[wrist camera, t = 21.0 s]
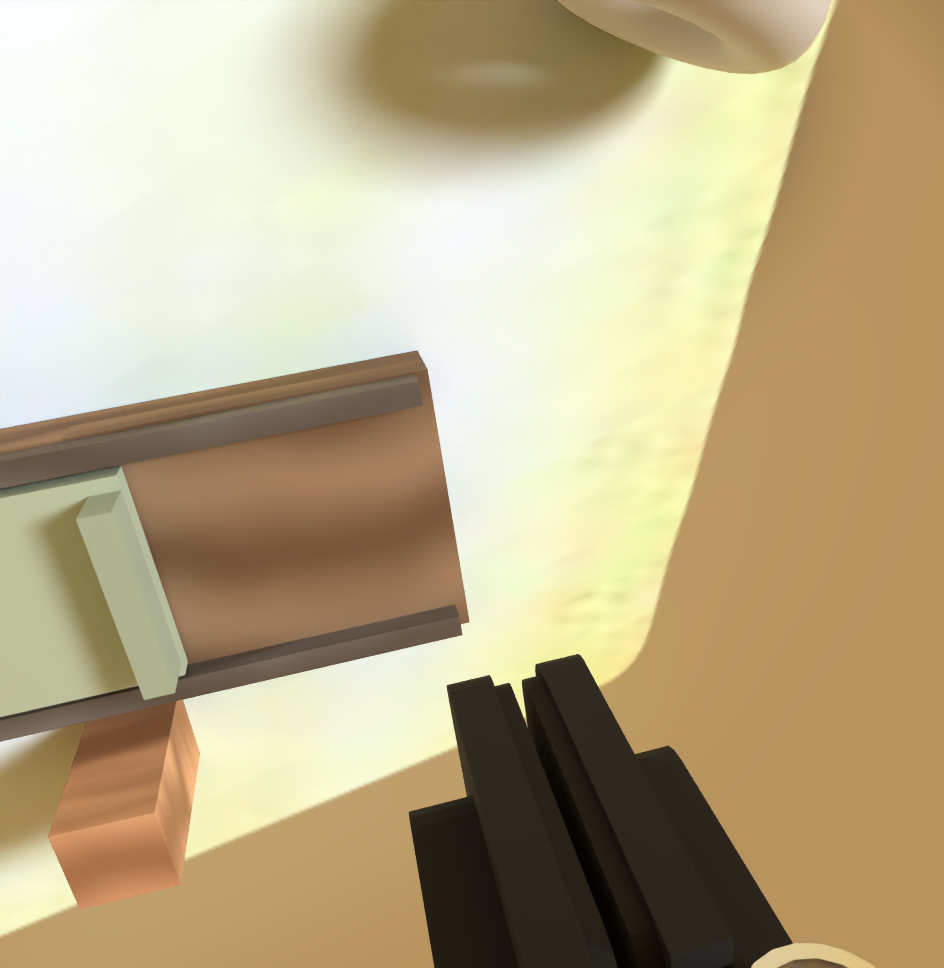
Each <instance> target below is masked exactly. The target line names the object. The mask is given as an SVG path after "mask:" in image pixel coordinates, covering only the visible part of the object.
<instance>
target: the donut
mask: <svg viewBox="0 0 944 968" xmlns="http://www.w3.org/2000/svg"><path fill="white" fill-rule="evenodd" d="M557 1H558V2H559V3H561V4H562V5H563V6H564V7H565V8H567V9H568V10H569V11H570V12H572V13H573V14H575V15H577V16H578V17H580V18H582V19H583V20H585V21H586V22H588V23H590V24H591V25H593V26H595V27H597V28H599V29H601V30H603V31H605V32H607V33H609V34H611V35H613V36H615V37H617V38H620V39H622V40H625V41H627V42H629V43H632V44H634V45H636V46H639V47H641V48H644V49H646V50H649V51H652V52H655V53H657V54H660V55H663V56H666V57H669V58H672V59H675V60H678V61H681V62H685V63H689V64H692V65H696V66H700V67H703V68H707V69H713V70H718V71H723V72H729V73H741V74H756V73H763V72H768V71H772V70H776V69H780V68H782V67H784V66H786V65H788V64H790V63H792V62H794V61H796V60H797V59H798V58H799V57H801V56H802V55H803V54H804V53H805V52H806V51H807V50H808V49H809V48H810V46H811V45H812V43H813V41H814V40H815V38H816V37H817V35H818V33H819V32H820V30H821V28H822V26H823V24H824V22H825V20H826V16H827V13H828V10H829V6H830V3H831V0H557Z"/></svg>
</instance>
